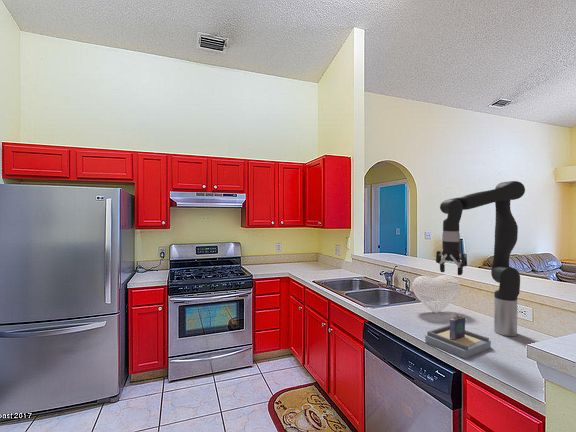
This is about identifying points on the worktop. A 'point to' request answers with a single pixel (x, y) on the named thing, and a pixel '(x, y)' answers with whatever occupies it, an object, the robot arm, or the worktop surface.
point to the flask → (457, 327)
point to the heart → (436, 291)
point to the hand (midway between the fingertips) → (450, 273)
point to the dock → (458, 342)
